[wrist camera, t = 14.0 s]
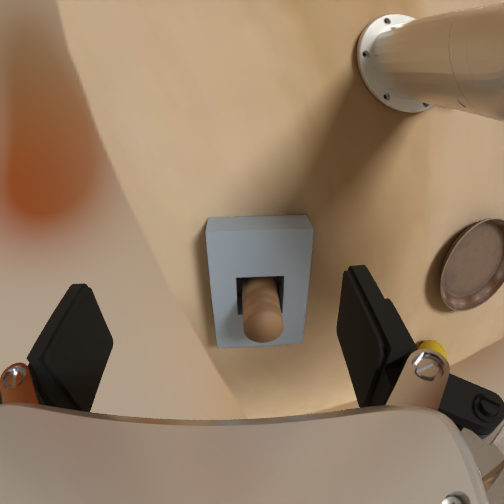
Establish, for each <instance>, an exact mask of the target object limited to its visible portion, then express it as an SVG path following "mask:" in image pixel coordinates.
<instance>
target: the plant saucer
mask: <svg viewBox="0 0 504 504" xmlns="http://www.w3.org/2000/svg"><path fill="white" fill-rule="evenodd" d="M503 283H504V219H501V218H489V219H484V220H481V221H479V222H477V223H475V224H473V225H471V226H470V227H468V228H467V229H465V230H464V231H463V232H462V233H461V234H460V235H459V236H458V237H457V238H456V240H455V241H454V242H453V244H452V245H451V247H450V249H449V251H448V253H447V255H446V257H445V260H444V263H443V266H442V270H441V276H440V292H441V297H442V300H443V302H444V303H445V305H446V306H447V307H449V308H450V309H452V310H455V311H467V310H471V309H473V308H476V307H478V306H480V305H481V304H483V303H484V302H486V301H487V300H488V299H490V298H491V297H492V296H493V295H494V294H495V293H496V292H497V290H498V289H499V288H500V287H501V285H502V284H503Z"/></svg>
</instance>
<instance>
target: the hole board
mask: <svg viewBox="0 0 504 504" xmlns="http://www.w3.org/2000/svg"><path fill="white" fill-rule="evenodd" d="M205 233H206V244H207V255H208V266H209V276H210V286H211V295H212V304H213V313H214V322H215V331H216V339H217V347H218V348H234V347H259V346H277V345H292V344H302V340H303V332H304V323H305V315H306V306H307V297H308V288H309V278H310V268H311V257H312V246H313V234H314V228H313V226H312V224H311V222H310V220H309V218H308V216H307V215H275V216H241V217H215V218H208V221H207V226H206V232H205ZM267 276H280V281H279V295H278V298H279V303H280V309H281V314H282V319H283V324H284V330H283V332H282V334H281V335H280V336H279V337H278V338H277V339H275V340H273V341H271V342H266V343H258V342H254V341H252V340H250V339H248V338H247V337H246V335H245V334H244V329H243V305H242V296H237V280H236V278H242V277H267Z"/></svg>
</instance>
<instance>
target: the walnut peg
mask: <svg viewBox="0 0 504 504" xmlns="http://www.w3.org/2000/svg"><path fill="white" fill-rule="evenodd" d="M241 281H242V305H243V329H244V334H245V335H246V337H247V338H248V339H250V340H252V341H254V342H258V343H266V342H271V341H273V340H275V339H277V338H278V337H279V336H280V335H281V334H282V332H283V330H284V324H283V319H282V314H281V309H280V303H279V298H278V293H277V288H276V283H275V278H274V276H267V277H242V278H241Z"/></svg>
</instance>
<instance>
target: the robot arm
mask: <svg viewBox="0 0 504 504" xmlns="http://www.w3.org/2000/svg"><path fill="white" fill-rule="evenodd" d="M384 21H385V22H386V24H385V22H384ZM362 53H364V54H365V56H363V54H362ZM357 62H358V67H359V71H360V74H361V77H362V78H363V80H364V82H365V84H366V86H367V87H368V89H369V90H370V92H371V93H372V94H373V95H374V96H375V97H376V98H377V99H378V100H379V101H381V102H382V103H383V104H385V105H386V106H388V107H390V108H393V109H395V110H398V111H402V112H409V113H414V112H421V111H424V110H427V109H429V108H430V107H432V106H433V105H437V106H442V107H447V108H451V109H456V110H460V111H464V112H468V113H472V114H476V115H480V116H484V117H487V118H492V119H495V120H499V121H504V3H501V4H495V5H489V6H483V7H477V8H470V9H464V10H458V11H453V12H448V13H443V14H438V15H434V16H429V17H425V18H421V19H415V18H413V17H410V16H408V15H403V14H388V15H384V16H381V17H379V18H376V19H374V20H373V21H372V22H370V23H369V24H368V25H367V26H366V27H365V29H364V30H363V32H362V34H361V36H360V38H359V41H358V45H357ZM384 95H385V98H384ZM337 336H338V339H339V342H340V345H341V348H342V351H343V355H344V358H345V361H346V364H347V368H348V371H349V374H350V377H351V381H352V384H353V387H354V391H355V394H356V398H357V401H358V404H359V407H360V408H356V409H347V410H340V411H333V412H325V413H316V414H307V415H297V416H286V417H275V418H260V419H239V420H172V419H152V418H138V417H125V416H116V415H107V414H99V413H91V412H90V410H91V407H92V404H93V401H94V398H95V395H96V392H97V389H98V386H99V383H100V380H101V378H102V374H103V372H104V369H105V366H106V364H107V361H108V358H109V355H110V353H111V350H112V347H113V338H112V336H111V334H110V331H109V329H108V327H107V325H106V322H105V320H104V318H103V316H102V313H101V311H100V308H99V306H98V304H97V301H96V299H95V296H94V294H93V291H92V289H91V288H89V287H88V286H87V285H86V284H72V285H71V286H70V287H69V289H68V291H67V292H66V294H65V295H64V297H63V298H62V300H61V301H60V303H59V304H58V306H57V308H56V309H55V311H54V312H53V314H52V315H51V317H50V319H49V320H48V322H47V324H46V325H45V327H44V329H43V330H42V332H41V334H40V335H39V337H38V339H37V341H36V342H35V344H34V346H33V348H32V350H31V351H30V353H29V355H28V357H27V359H28V361H29V362H30V363H29V365H28V366H27V365H26V364H24V363H15V364H12V365H11V366H9V367H7V369H5V370H4V372H3V373H2V375H1V377H0V504H504V402H503V400H502V399H501V398H500V397H499V395H497V394H496V393H494V392H492V391H490V390H487V389H485V388H483V387H480V386H478V385H475V384H473V383H471V382H468V381H466V380H463V379H461V378H459V377H457V376H455V375H452V374H450V366H449V363H448V361H447V360H446V358H445V357H444V356H443V355H442V354H441V353H439V352H437V351H435V350H431V349H420V350H418V349H417V347H416V345H415V343H414V341H413V339H412V338H411V336H410V334H409V332H408V330H407V328H406V326H405V325H404V323H403V321H402V319H401V317H400V315H399V314H398V312H397V310H396V308H395V307H394V305H393V303H392V302H391V300H390V299H388V298H387V299H385V298H384V297H383V295H382V293H381V291H380V289H379V288H378V286H377V284H376V282H375V281H374V279H373V277H372V275H371V274H370V272H369V270H368V269H367V267H366V266H365V265H358V266H350V267H349V268H348V270H347V271H344V273H343V281H342V290H341V298H340V306H339V313H338V321H337ZM478 470H479V471H480V473H481V476H482V478H481V476H480V473H479V471H478Z"/></svg>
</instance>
